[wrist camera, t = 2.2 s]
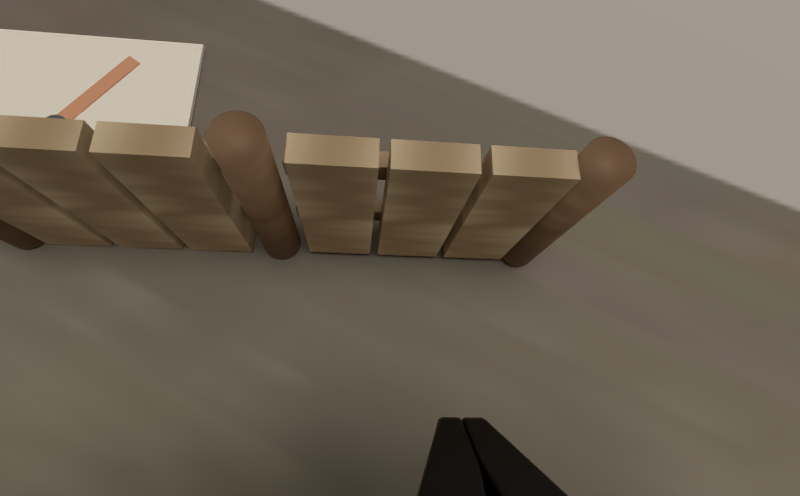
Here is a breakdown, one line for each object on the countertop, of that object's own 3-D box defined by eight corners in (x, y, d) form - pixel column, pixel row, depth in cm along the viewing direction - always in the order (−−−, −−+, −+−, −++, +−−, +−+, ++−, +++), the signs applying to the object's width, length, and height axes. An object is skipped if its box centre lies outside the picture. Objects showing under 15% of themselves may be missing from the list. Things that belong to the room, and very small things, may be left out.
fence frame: (6, 248, 20) (-251, 134, 11) (18, 208, 21) (-217, 71, 12) (299, 260, 21) (261, 162, 13) (302, 221, 22) (269, 103, 13)
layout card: (-155, 185, 20) (-165, 181, 20) (-85, 26, 23) (-91, 20, 23) (176, 201, 21) (173, 198, 21) (205, 48, 24) (202, 43, 24)
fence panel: (300, 257, 21) (266, 164, 13) (303, 218, 21) (273, 106, 13) (534, 266, 22) (640, 185, 14) (530, 228, 22) (631, 129, 14)
